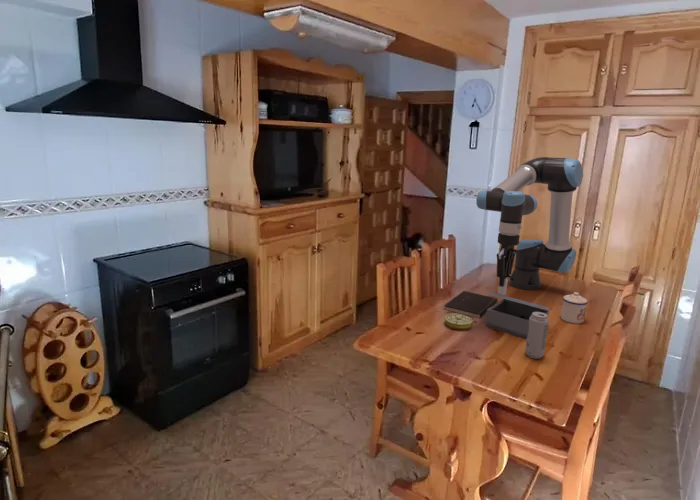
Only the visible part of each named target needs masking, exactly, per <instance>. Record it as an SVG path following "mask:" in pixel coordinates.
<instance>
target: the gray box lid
mask: <svg viewBox="0 0 700 500" xmlns="http://www.w3.org/2000/svg"><path fill="white" fill-rule="evenodd" d="M488 296H490V297H494V298H500V299H502V300H503V299H506V300H510V301H514V302H517V303H521V304H525V305H529V306H532V307H536V308H540V309H544V310H547V311H549V312H550V311H551V307H550V306H549V307H548V306H544V305H541V304H538V303H533V302H530V301H527V300H524V299H520V298H519V299H518V298H515V297H510V296H507V295H502V294H498V293H497V292H496V293H495V292H492V291H490V292H489V293H488Z"/></svg>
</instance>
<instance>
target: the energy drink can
mask: <svg viewBox="0 0 700 500" xmlns="http://www.w3.org/2000/svg"><path fill="white" fill-rule="evenodd" d="M549 323H550V321H549V314H548V315H547V314H545V313H542V312H533V313H532V315H531V316H530V318H529V326H528V333H527V339H526V340H525V349H524V352H525V354H526V356H527V357H528V358H531V359H537V360H539V359H542V357H544V356H545V349H546V344H547V343H546V342H547V336H548V330H549V329H548V328H549Z"/></svg>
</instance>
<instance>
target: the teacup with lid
mask: <svg viewBox="0 0 700 500" xmlns="http://www.w3.org/2000/svg"><path fill="white" fill-rule="evenodd" d="M587 304H588V299H586V297H583V296H582V295H580V293H579V292H578V291H577V292H576V291H574V292H572V293H571V294H566V295H564V296H563V297H562V304H561V305H562V307H561V312H560V318H561V319H562V320H563V321H564V322H567V323H571V324H583V323H584V321H585V316H586V312H587V311H586V310H587Z"/></svg>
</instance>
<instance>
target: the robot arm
mask: <svg viewBox="0 0 700 500" xmlns="http://www.w3.org/2000/svg"><path fill="white" fill-rule="evenodd" d="M583 170H584V169H583V165H582V163H581V161H580V160H579V159H577V158H569V157H550V156H549V157H548V156H539V157H536V158H533V159H530V160H528V161H526V162H524V163H522V164H520V165H519V166H518V167H517V168H516V170H515V171H514V173H512V174H511V175H509V176H508V177H507V178H506V179H504V180H502V182H500V183H499V184H498V185H497V186H495V187H493V188H492V189H491V190H490V191H489V190H480V191H479V192H478V194H477V196H476V202H475V203H476V206H477V208H478V209H481V210H484V211H491V212H499V213H500V219H499V225H498V232H499V233H498V234H497V243H498V244H500V249H499V253H496V277H497V278H498V284H497V285H498V286H497V292H496V294H500V295H503V296H506V294H507V289H508V285H510V286H512V287H514V288H517V289H522V290H525V291H527V290H529V291H530V290H531V291H534V290H535V291H536V290H540V289H541V287H542V279H541V275H540V269H541V270H547V271H553V272H557V273H562V274H567V273H569V272H570V271H571V270H572V268H573V267H574V263H575V261H576V259H577V249H574V248H573V243H572V242H570V233H571V229H570V228H571V218H572V217H571V216H572V202H573V193H574V192H575V191H576V190H577V188H578V187H580V186H581V184H582V181H583V176H584V175H583V174H584V172H583ZM533 184H543V185H547V191H548V192H549V193H550V205H549V208H550V209H549V222H548V223H549V224H548V226H549V228H548V240H547V241H546V242H545V243H544V240H542V239H537V238H536V239H534V238H529V239H521V240H520V233H521V230H522V228H523V227H522V222H523V221H522V220H523V216H528V215H530V214H532V213H534V212H535V211H536V210H537V208H538V200H537V199H536V197H535V196H533V195H532V194H525V193H524V192H522V190H523V189H524V188H526V187H528V186H531V185H533ZM515 246H516V249H515ZM513 265H514V267H513Z"/></svg>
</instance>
